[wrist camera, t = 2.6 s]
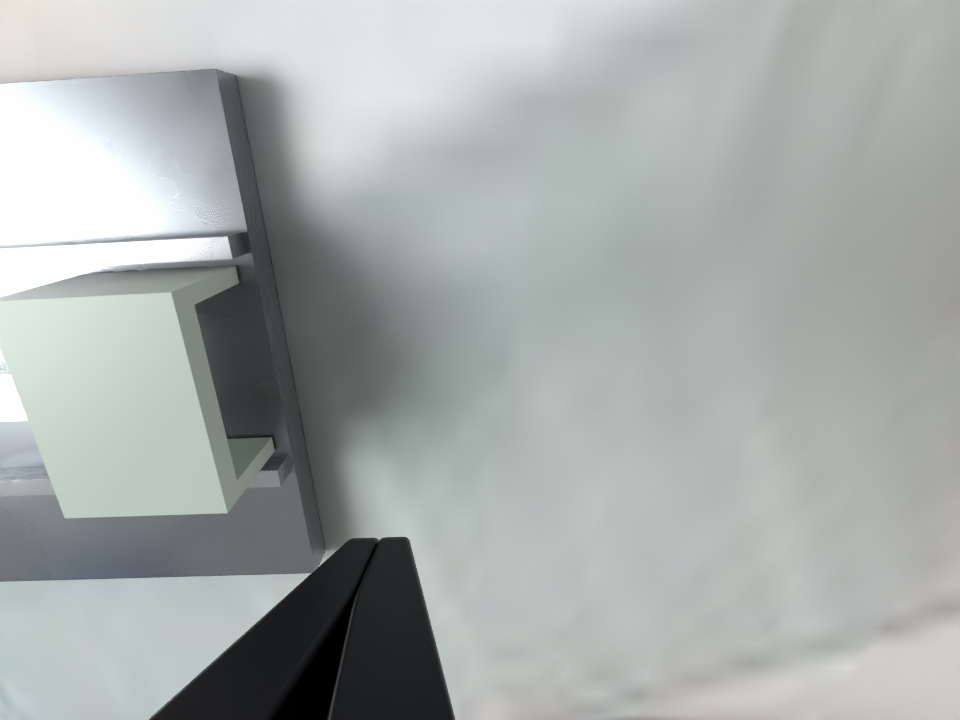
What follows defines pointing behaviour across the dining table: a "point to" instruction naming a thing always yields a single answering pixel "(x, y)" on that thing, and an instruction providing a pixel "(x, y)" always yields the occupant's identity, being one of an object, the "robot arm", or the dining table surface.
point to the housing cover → (126, 393)
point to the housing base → (142, 247)
